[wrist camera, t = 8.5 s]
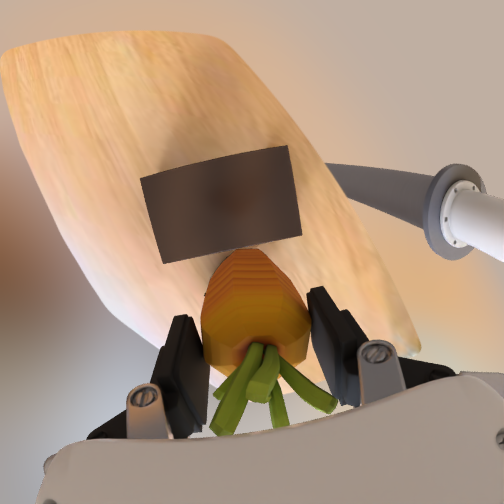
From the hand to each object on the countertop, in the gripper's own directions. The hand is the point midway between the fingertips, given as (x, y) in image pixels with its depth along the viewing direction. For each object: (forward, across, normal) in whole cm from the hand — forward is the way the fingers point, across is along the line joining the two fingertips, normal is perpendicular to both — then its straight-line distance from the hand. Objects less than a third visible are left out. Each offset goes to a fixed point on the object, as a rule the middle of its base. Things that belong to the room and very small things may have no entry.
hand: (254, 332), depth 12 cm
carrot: (+10, 0, 0) cm, 10 cm away
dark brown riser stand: (+27, +2, -3) cm, 27 cm away
